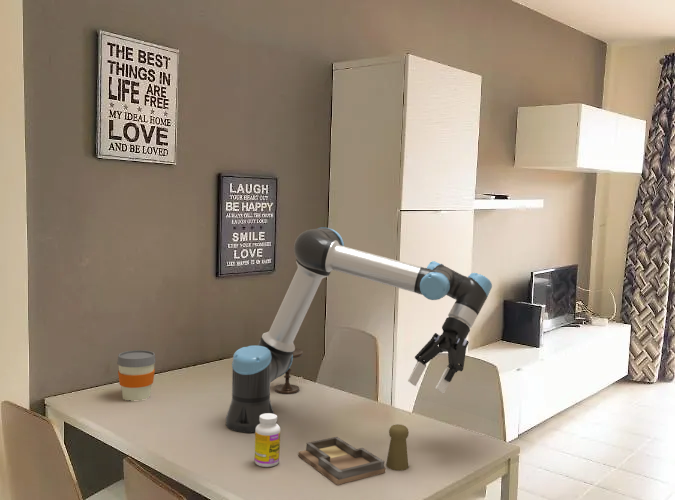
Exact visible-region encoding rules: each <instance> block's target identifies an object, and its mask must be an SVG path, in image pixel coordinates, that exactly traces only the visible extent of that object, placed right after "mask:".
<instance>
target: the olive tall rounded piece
mask: <svg viewBox="0 0 675 500" xmlns="http://www.w3.org/2000/svg"><path fill="white" fill-rule="evenodd" d="M388 435H389V437H390V441H389V446H388V447H389V448H388V452H387V459H386V464H385V466H386V468H388V469H390V470H393V471H398V472H399V471H405V470H408V469H409V457H408V445H407V439H408V438H409V429H408V427H407V426H406V425H404V424H393V425H391V426H390V427H389V430H388Z"/></svg>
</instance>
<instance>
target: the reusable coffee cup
mask: <svg viewBox="0 0 675 500" xmlns="http://www.w3.org/2000/svg"><path fill="white" fill-rule="evenodd" d="M116 362H117V363H116V364H117V365H118V372H117V375H118V380H119V381H118V382H119V385H120V386H121V395H122V400H124V399H125V400H124V401H126V400H131V401H130V402H135V401H134V400H142V399H146V398H148V397H149V396H150V397H151V390H152V384H154V380H155V371H156V369H155V364H156V362H157V361H156V354H155V352H154V351H151V350H144V349H138V350H137V349H135V350H126V351H123V352H119V354H118V356H117V361H116ZM148 399H149V398H148ZM146 400H147V399H146Z"/></svg>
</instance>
